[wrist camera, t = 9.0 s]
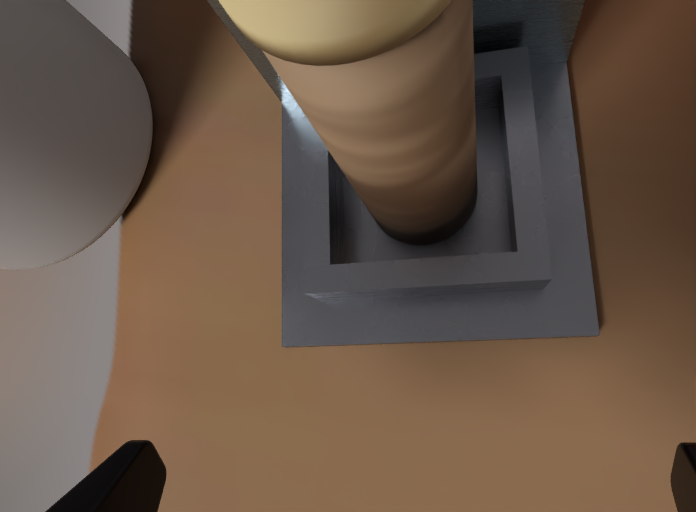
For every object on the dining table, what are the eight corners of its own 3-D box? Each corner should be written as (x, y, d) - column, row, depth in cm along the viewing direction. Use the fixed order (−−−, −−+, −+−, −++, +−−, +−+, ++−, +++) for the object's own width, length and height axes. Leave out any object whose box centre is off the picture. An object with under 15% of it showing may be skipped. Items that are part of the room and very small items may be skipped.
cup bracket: (596, 336, 20) (688, 312, 11) (286, 347, 22) (168, 335, 14) (561, 44, 22) (614, -158, 14) (286, 84, 25) (186, -64, 16)
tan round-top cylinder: (408, 272, 21) (292, 97, 8) (343, 184, 23) (158, -78, 10) (506, 200, 21) (545, -98, 8) (433, 116, 22) (366, -246, 9)
